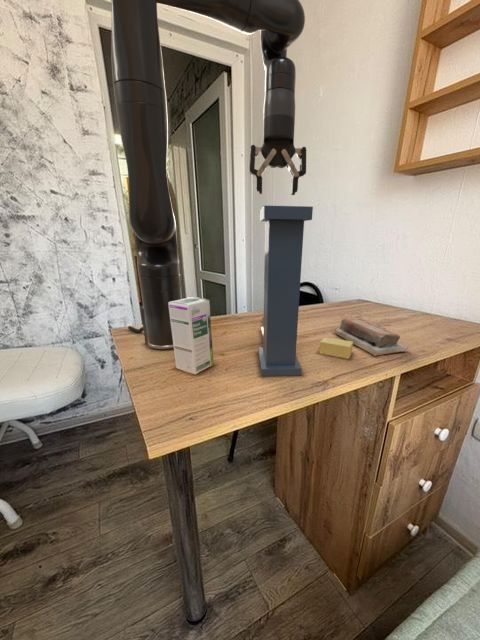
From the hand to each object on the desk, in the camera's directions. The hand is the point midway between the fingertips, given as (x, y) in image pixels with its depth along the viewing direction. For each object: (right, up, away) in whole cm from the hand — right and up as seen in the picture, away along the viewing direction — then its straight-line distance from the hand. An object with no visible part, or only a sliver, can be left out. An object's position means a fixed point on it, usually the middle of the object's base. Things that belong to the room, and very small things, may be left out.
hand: (276, 194), depth 76 cm
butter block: (+14, -41, -5) cm, 44 cm away
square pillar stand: (0, -44, -11) cm, 45 cm away
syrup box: (-18, -44, -14) cm, 50 cm away
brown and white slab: (-2, -35, +9) cm, 36 cm away
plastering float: (+24, -39, +2) cm, 46 cm away
